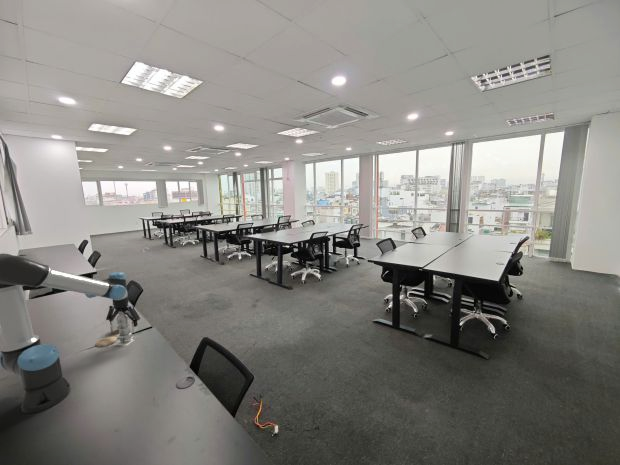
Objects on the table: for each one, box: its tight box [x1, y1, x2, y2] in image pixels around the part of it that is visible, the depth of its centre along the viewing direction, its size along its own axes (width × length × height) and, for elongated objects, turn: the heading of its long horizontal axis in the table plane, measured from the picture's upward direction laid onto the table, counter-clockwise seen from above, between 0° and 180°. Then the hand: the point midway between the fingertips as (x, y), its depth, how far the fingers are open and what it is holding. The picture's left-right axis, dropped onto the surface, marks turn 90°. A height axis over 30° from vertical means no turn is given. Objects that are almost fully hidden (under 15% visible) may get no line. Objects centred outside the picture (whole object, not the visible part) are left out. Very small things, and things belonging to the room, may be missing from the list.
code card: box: [113, 336, 135, 347], centre depth 155 cm, size 9×9×1 cm
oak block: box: [110, 322, 119, 335], centre depth 166 cm, size 5×5×5 cm
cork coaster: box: [95, 336, 118, 348], centre depth 154 cm, size 10×10×1 cm
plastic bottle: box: [115, 311, 133, 342], centre depth 153 cm, size 6×7×20 cm
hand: (124, 330), depth 154 cm, fingers open, 13 cm apart
